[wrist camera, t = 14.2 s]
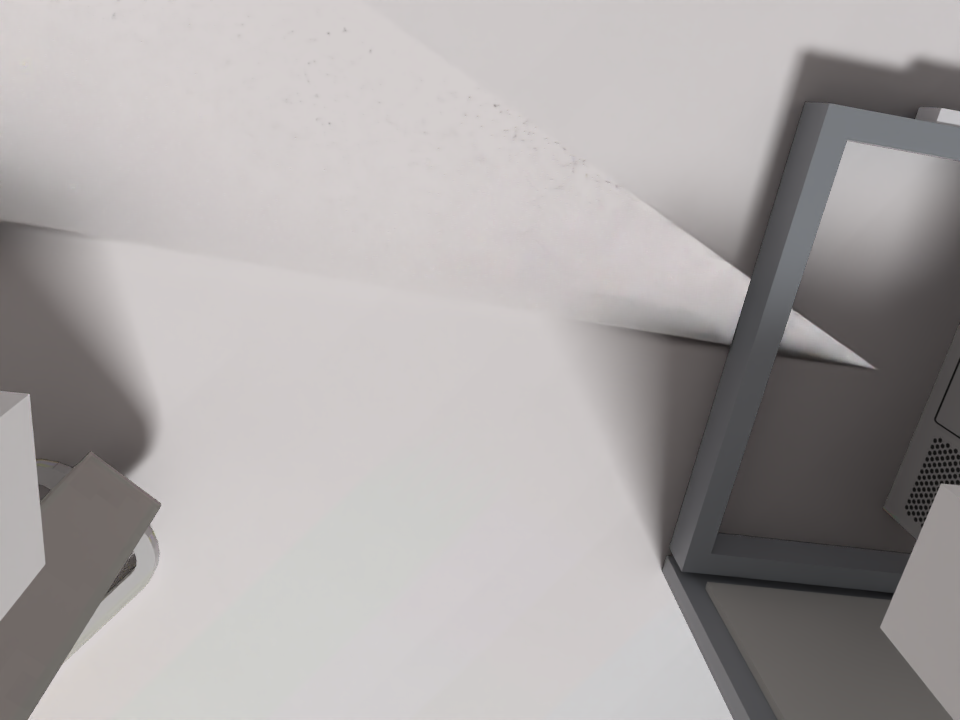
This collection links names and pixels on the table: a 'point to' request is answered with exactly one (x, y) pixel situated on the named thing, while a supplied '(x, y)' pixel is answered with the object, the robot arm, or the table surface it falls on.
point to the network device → (74, 574)
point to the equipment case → (780, 563)
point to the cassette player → (930, 449)
